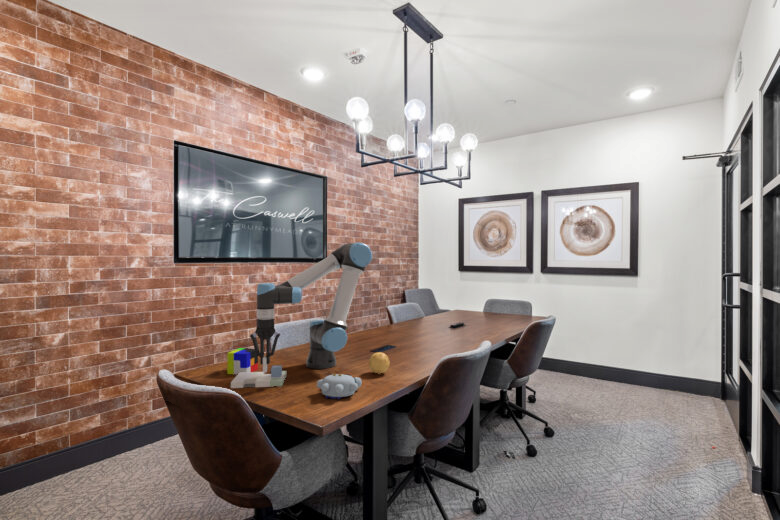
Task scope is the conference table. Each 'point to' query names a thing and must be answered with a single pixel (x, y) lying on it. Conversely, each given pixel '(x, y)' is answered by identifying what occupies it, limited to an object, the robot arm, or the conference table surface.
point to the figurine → (339, 385)
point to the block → (276, 371)
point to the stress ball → (379, 362)
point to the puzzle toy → (242, 361)
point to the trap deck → (257, 380)
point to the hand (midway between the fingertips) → (265, 371)
